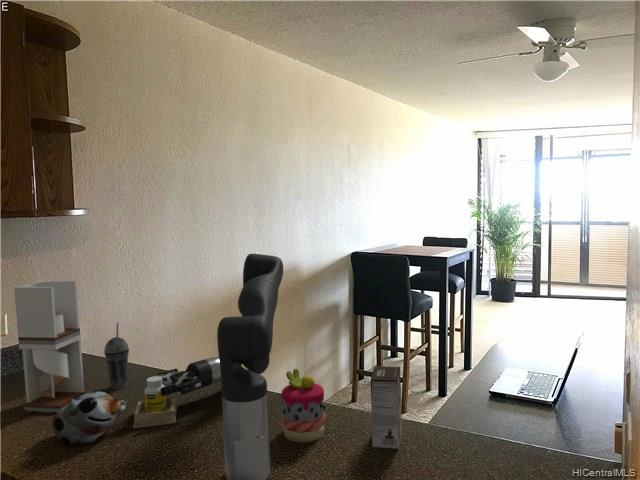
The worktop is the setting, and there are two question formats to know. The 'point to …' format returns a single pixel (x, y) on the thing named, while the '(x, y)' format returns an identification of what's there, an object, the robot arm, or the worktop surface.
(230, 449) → the robot arm
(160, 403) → the supplement bottle
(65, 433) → the lucky cat figurine
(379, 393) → the coffee box
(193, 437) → the worktop surface
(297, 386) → the cake
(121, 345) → the beverage cup
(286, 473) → the worktop surface
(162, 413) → the birch dock
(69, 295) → the white shelf stand
